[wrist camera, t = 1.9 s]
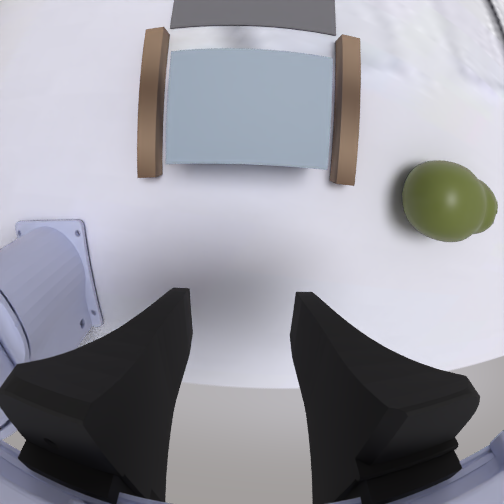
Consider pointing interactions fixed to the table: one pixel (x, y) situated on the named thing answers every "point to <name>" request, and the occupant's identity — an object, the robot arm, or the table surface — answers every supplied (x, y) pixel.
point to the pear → (447, 201)
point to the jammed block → (249, 108)
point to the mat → (257, 14)
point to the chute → (343, 112)
